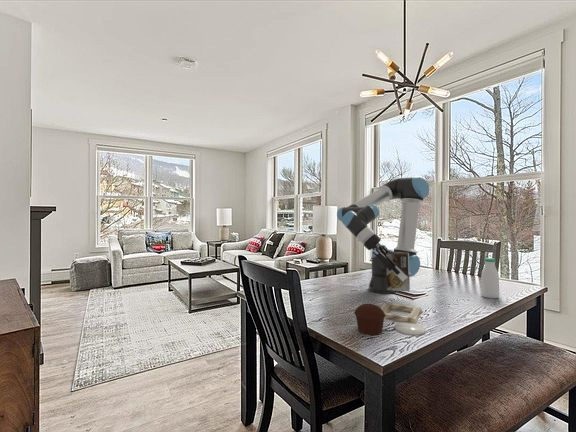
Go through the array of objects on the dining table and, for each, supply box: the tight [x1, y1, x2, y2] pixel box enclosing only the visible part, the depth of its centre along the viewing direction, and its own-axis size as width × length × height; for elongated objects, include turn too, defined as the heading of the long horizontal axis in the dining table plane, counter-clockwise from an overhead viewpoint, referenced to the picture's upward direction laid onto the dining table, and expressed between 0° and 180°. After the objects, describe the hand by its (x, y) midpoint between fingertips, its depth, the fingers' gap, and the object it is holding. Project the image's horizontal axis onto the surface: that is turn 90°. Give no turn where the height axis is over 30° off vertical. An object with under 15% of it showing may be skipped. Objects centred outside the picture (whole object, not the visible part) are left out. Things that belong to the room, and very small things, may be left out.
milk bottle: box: [480, 257, 500, 299], centre depth 162 cm, size 8×8×20 cm
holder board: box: [380, 302, 423, 324], centre depth 137 cm, size 16×16×2 cm
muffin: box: [353, 303, 385, 337], centre depth 120 cm, size 12×11×10 cm
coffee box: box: [386, 251, 411, 293], centre depth 136 cm, size 9×6×16 cm
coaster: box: [394, 322, 426, 336], centre depth 121 cm, size 11×11×1 cm
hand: (406, 277), depth 135 cm, fingers closed on coffee box, 7 cm apart
